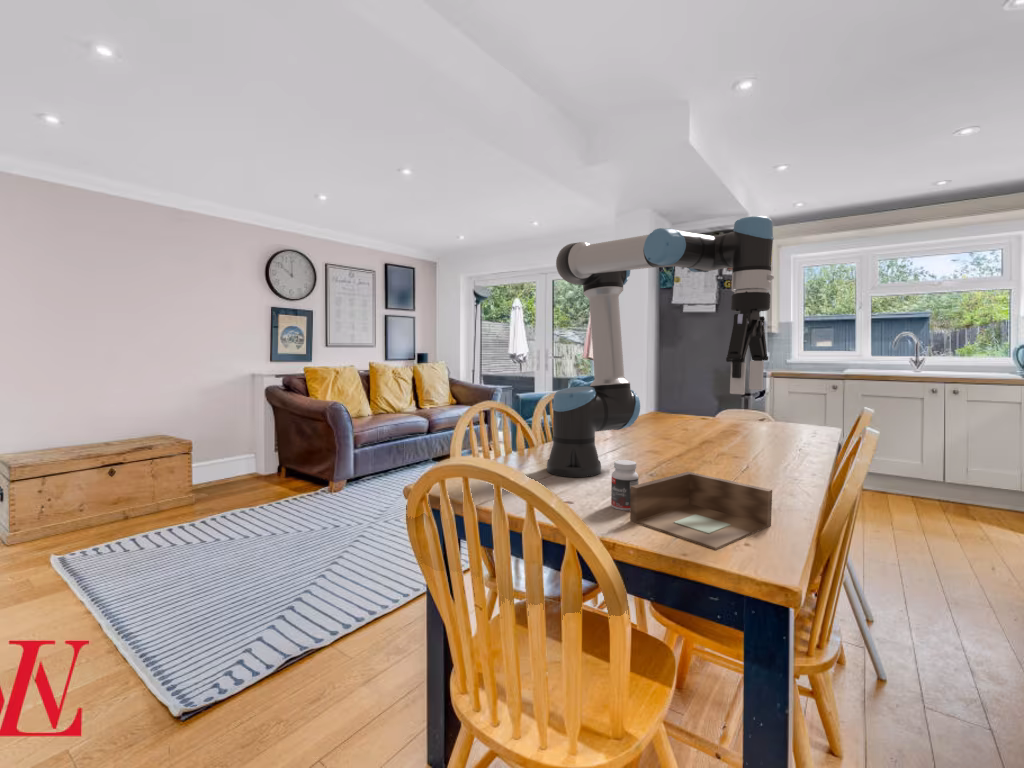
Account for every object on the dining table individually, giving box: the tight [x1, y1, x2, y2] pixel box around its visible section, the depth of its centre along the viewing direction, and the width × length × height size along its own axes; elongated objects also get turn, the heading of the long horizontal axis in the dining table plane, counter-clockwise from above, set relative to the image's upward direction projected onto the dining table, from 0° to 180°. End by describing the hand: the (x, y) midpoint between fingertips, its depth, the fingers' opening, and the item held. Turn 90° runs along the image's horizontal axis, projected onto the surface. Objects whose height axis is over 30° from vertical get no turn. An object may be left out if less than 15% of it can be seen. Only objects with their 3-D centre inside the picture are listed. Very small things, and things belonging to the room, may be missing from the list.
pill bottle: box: [610, 459, 639, 512], centre depth 109 cm, size 6×6×10 cm
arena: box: [629, 471, 773, 550], centre depth 99 cm, size 18×20×7 cm
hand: (746, 391), depth 109 cm, fingers open, 13 cm apart
